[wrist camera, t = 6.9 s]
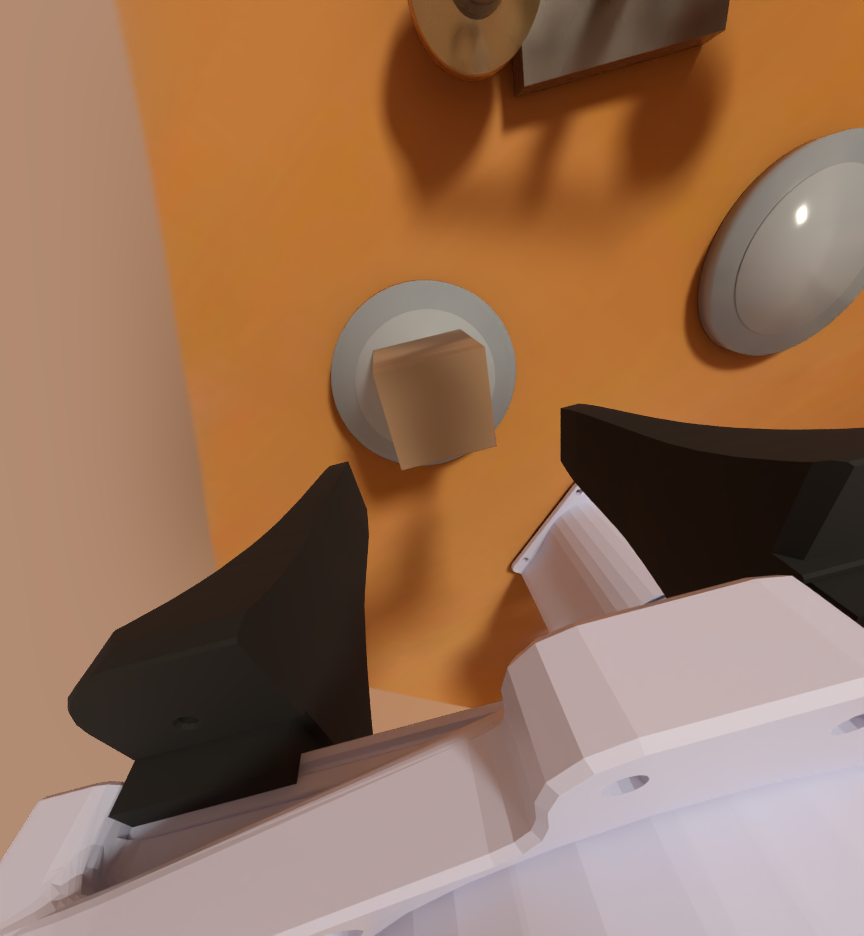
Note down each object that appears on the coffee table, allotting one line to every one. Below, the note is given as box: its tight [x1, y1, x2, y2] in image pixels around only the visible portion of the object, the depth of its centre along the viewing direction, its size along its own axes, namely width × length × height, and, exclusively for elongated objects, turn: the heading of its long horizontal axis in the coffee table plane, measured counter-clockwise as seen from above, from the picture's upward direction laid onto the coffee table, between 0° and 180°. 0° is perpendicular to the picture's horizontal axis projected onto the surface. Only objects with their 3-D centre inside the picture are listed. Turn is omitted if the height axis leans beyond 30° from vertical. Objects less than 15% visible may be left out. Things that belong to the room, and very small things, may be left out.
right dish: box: [698, 128, 864, 356], centre depth 18 cm, size 10×10×1 cm
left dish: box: [331, 280, 516, 466], centre depth 19 cm, size 10×10×1 cm
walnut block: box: [373, 329, 497, 470], centre depth 16 cm, size 4×4×4 cm
